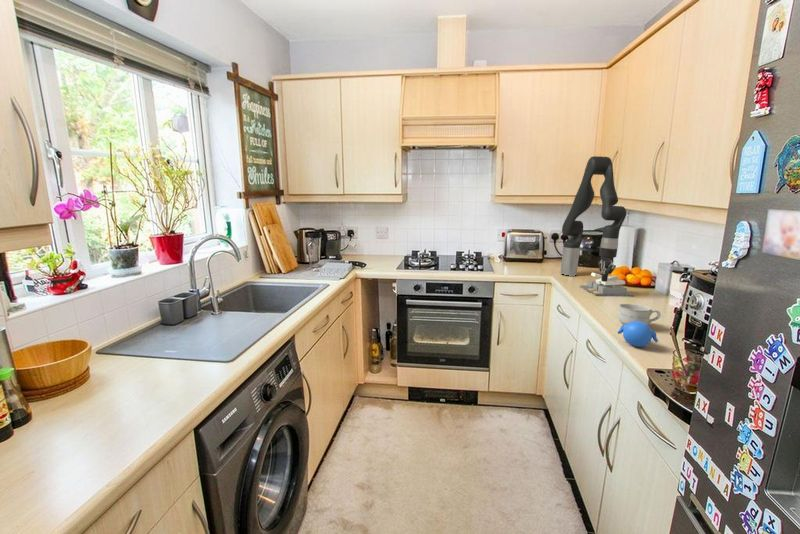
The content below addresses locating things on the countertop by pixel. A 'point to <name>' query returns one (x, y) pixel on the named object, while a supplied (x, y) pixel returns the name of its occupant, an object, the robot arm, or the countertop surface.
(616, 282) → the rocker
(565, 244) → the robot arm
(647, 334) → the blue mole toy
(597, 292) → the switch unit
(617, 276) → the rocker
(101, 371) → the countertop surface
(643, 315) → the teacup
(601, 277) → the rocker
